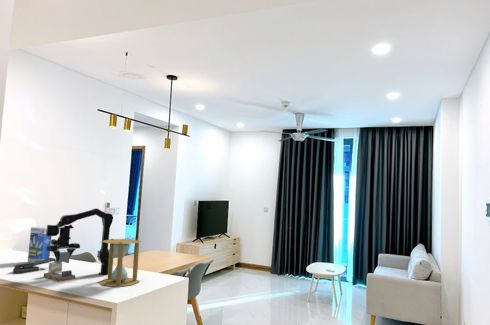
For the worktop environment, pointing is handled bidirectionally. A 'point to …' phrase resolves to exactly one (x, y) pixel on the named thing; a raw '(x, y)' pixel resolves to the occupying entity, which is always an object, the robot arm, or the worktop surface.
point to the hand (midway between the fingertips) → (62, 261)
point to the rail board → (58, 272)
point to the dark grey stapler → (30, 266)
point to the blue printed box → (38, 244)
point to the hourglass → (120, 273)
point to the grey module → (63, 257)
